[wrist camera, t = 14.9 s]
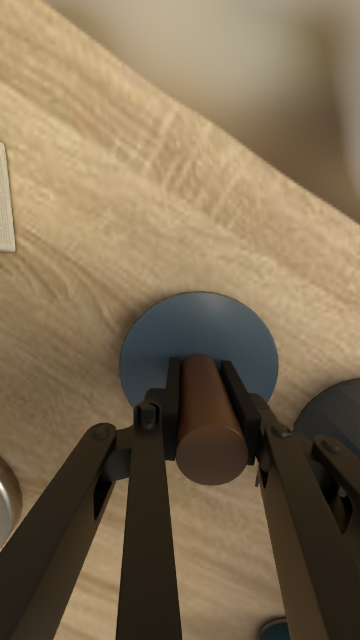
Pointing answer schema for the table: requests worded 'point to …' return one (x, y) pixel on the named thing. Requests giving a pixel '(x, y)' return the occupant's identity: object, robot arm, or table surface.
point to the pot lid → (201, 375)
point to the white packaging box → (5, 207)
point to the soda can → (275, 630)
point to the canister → (334, 416)
